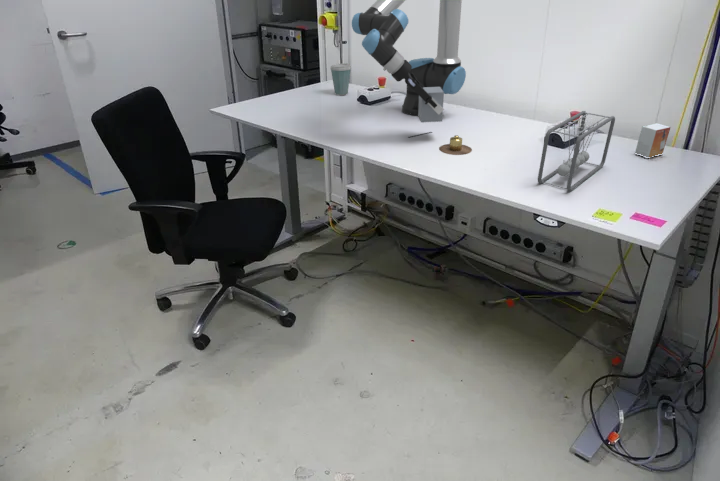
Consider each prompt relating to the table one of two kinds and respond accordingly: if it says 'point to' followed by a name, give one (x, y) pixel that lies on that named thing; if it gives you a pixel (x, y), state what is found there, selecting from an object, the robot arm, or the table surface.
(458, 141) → the brass weight
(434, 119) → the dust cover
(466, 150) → the walnut coaster
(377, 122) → the table surface
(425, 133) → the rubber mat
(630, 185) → the table surface
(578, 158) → the newton's cradle
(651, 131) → the small box
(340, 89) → the disposable coffee cup
